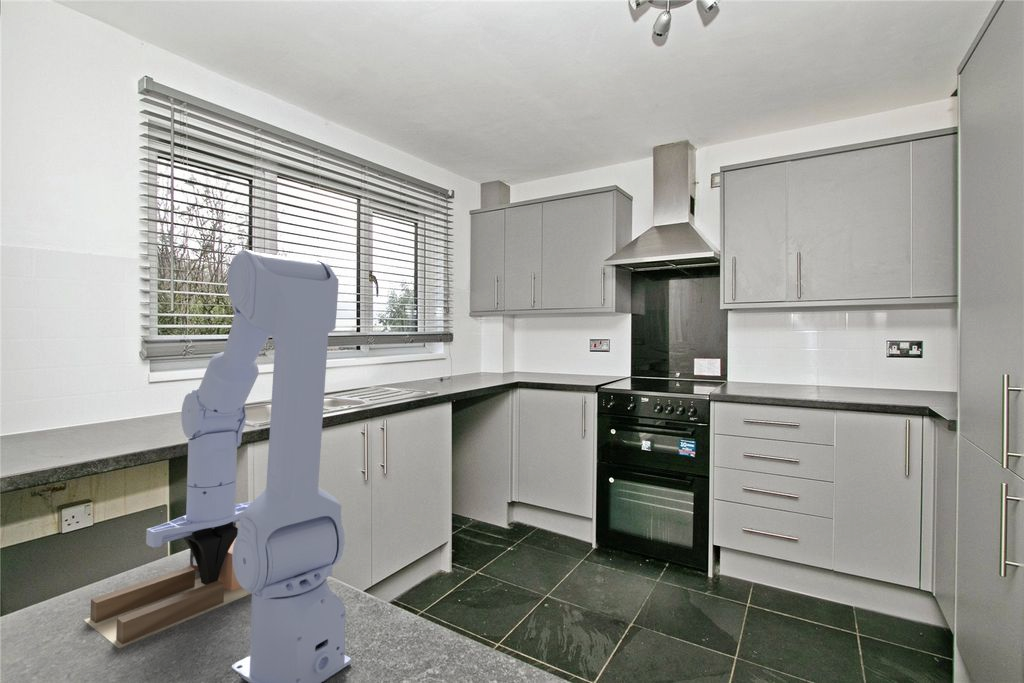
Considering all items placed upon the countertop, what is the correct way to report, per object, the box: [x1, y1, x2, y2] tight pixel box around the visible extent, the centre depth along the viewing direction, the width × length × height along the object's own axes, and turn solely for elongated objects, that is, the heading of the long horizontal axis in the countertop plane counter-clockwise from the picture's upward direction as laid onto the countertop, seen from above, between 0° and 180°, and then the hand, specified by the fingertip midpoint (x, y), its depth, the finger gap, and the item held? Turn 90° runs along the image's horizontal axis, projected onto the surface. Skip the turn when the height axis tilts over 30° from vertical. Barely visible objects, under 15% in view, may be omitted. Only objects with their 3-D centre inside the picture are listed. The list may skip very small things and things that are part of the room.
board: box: [83, 577, 252, 649], centre depth 66 cm, size 10×19×1 cm, turn 148°
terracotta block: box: [218, 540, 241, 591], centre depth 71 cm, size 5×5×5 cm
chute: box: [89, 565, 224, 644], centre depth 63 cm, size 9×11×2 cm
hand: (209, 582), depth 68 cm, fingers closed
